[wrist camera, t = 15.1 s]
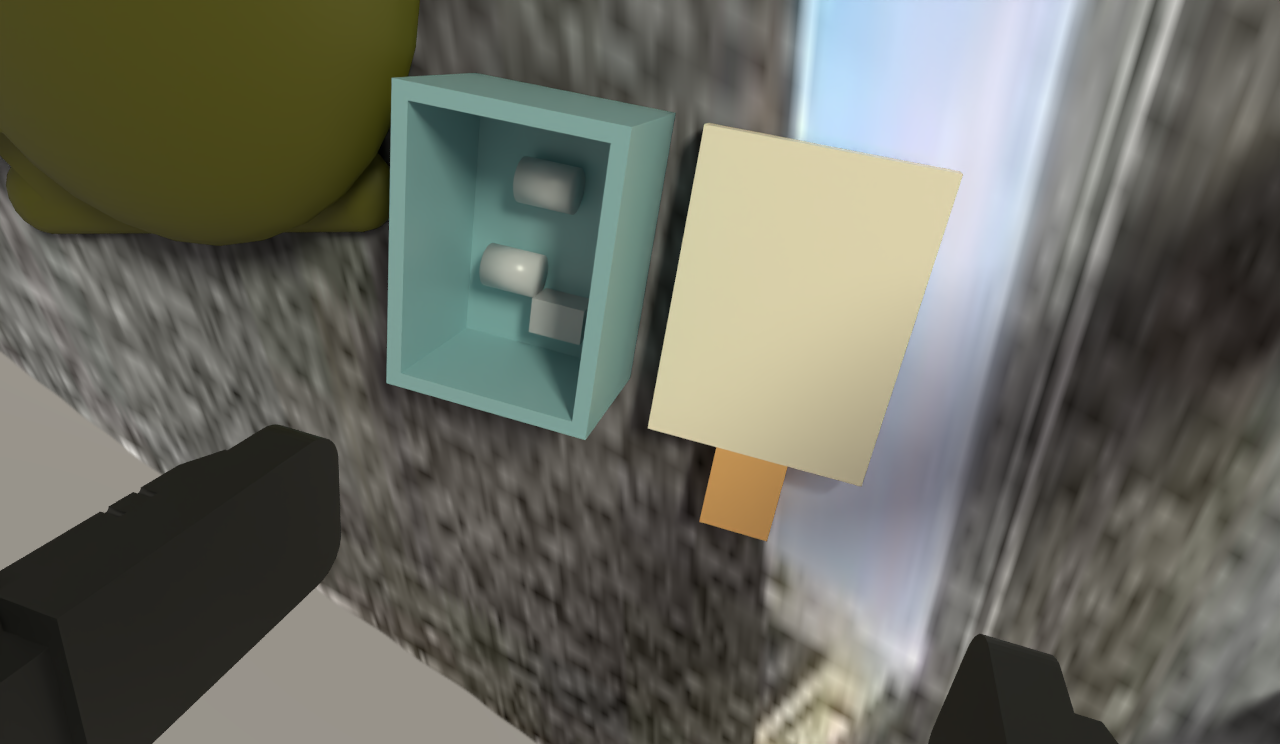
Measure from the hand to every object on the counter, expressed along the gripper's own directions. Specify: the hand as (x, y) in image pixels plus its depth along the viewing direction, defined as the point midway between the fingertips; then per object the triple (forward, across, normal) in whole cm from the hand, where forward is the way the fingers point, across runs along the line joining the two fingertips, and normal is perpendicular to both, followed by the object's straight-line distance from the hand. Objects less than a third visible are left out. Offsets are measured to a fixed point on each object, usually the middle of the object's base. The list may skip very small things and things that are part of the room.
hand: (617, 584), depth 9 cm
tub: (+32, +13, +5) cm, 35 cm away
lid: (+32, 0, +9) cm, 33 cm away
